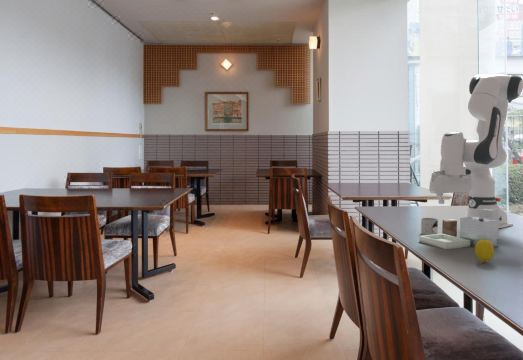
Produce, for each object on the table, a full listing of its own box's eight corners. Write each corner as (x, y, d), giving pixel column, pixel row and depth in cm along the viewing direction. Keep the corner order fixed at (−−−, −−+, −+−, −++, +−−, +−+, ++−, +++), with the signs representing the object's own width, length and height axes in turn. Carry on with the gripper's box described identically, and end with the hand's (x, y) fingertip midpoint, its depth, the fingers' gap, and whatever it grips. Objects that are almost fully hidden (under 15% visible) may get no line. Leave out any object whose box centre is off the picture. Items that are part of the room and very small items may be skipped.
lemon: (470, 260, 140) (471, 237, 139) (486, 260, 140) (487, 236, 140) (480, 265, 134) (481, 240, 134) (497, 264, 135) (498, 240, 134)
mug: (435, 236, 181) (436, 220, 180) (419, 234, 184) (419, 219, 184) (440, 232, 189) (440, 217, 188) (424, 230, 192) (424, 216, 192)
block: (449, 235, 181) (449, 218, 181) (456, 237, 178) (457, 220, 177) (442, 236, 180) (442, 219, 179) (449, 238, 176) (449, 220, 176)
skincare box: (499, 239, 173) (500, 210, 172) (491, 240, 171) (492, 210, 170) (485, 236, 179) (486, 208, 178) (478, 237, 177) (479, 208, 176)
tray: (442, 239, 174) (442, 233, 173) (470, 246, 161) (470, 240, 160) (419, 241, 169) (419, 235, 169) (445, 249, 156) (446, 242, 156)
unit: (474, 240, 170) (475, 214, 169) (499, 246, 160) (500, 218, 159) (457, 242, 167) (457, 215, 166) (481, 248, 156) (482, 220, 156)
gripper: (437, 171, 170) (436, 205, 171) (475, 170, 178) (473, 203, 178) (426, 170, 176) (425, 203, 177) (463, 170, 183) (461, 201, 184)
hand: (450, 203), depth 178 cm, fingers open, 8 cm apart
